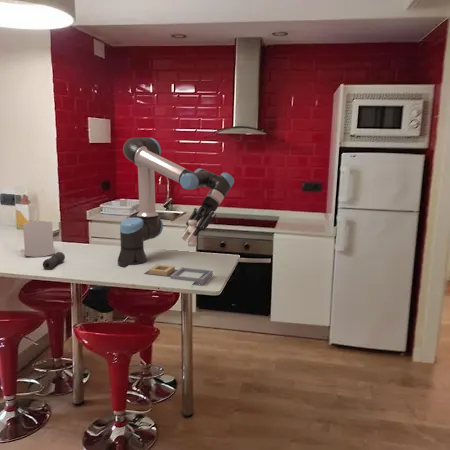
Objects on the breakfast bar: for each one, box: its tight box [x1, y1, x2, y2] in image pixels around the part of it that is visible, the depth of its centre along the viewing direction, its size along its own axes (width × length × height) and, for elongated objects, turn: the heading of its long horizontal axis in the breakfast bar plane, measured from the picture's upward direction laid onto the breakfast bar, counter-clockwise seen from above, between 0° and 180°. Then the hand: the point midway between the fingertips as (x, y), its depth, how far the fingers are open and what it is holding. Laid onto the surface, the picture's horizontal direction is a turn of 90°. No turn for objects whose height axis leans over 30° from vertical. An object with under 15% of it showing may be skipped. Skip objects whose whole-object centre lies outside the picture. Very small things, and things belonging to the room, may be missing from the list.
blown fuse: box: [187, 219, 198, 247], centre depth 218 cm, size 4×4×12 cm
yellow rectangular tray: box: [143, 264, 178, 278], centre depth 227 cm, size 14×12×4 cm
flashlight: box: [42, 251, 66, 271], centre depth 238 cm, size 15×5×5 cm, turn 176°
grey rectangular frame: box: [170, 267, 214, 286], centre depth 222 cm, size 16×14×3 cm
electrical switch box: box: [22, 219, 55, 258], centre depth 259 cm, size 14×15×20 cm
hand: (186, 239), depth 216 cm, fingers closed on blown fuse, 4 cm apart
